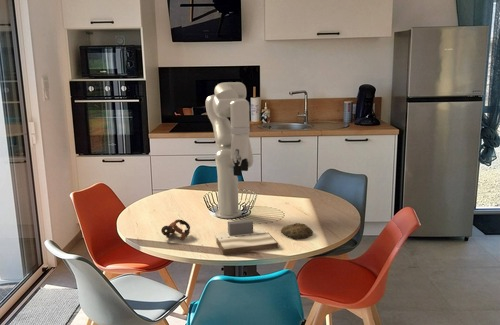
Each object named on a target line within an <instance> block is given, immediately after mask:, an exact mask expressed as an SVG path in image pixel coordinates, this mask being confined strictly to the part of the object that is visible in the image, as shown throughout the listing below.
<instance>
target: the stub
mask: <svg viewBox="0 0 500 325" xmlns="http://www.w3.org/2000/svg"><path fill="white" fill-rule="evenodd" d="M258 233H267V231H266V230H265V229H264V228H263V227H261V228H254V221H253V220H252V219H243V220H233V221H227V231H225V232H216V233H215V232H214V235H213V237H214V239H215V240H216V238H223V237H231V236H240V235H249V234H258Z"/></svg>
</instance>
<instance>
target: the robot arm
mask: <svg viewBox="0 0 500 325" xmlns="http://www.w3.org/2000/svg"><path fill="white" fill-rule="evenodd" d="M213 92H214V94H212V95H209V96H207V97H206V99H205V109H206V114H207V118H208V119H209V121H210V123H211V125H212V129H213V135H214V141H215V145H216V147H217V148H218V149H219V150H217V152H215V155H214V160H215V165H216V172H217V173H216V174H217V200H218V201H217V206H218V208H217V210H216V211H214V214H215V216H216V217H218V218H220V219H235V218H240V217H241V216H242V214H243V212H242V210H241V209H239V178H238V177H239V176H242V175H243V172H248V171H249V168H251V167H252V166H253V165H254V154H253V151H252V149H253V148H252V145H251V140H250V136H249V135H250V133H251V132H250V131H251V129H250V102H249V101H248V100H247V99H246V98H247V87H246V85H245V84H244V83H243V82H240V81H235V82H233V81H228V82H227V81H226V82H220V83H217V85H215V87H214V91H213ZM229 118H230V120H229Z"/></svg>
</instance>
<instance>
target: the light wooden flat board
mask: <svg viewBox="0 0 500 325" xmlns="http://www.w3.org/2000/svg"><path fill="white" fill-rule="evenodd" d="M266 232H267V231H266ZM215 241H216V242H215V243H216V245H217V247H218V249H219V250H220V252H221V253H222V255H223V256H224V255H234V254H239V253H240V254H241V253H248V252H256V251H265V250H273V249H279V242H278V241H277V240H276V239H275V237H274V236H272V235H271V233H269V232H267V233H258V234H249V235H240V236H231V237H223V238H216V239H215Z"/></svg>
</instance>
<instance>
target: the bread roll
mask: <svg viewBox="0 0 500 325" xmlns="http://www.w3.org/2000/svg"><path fill="white" fill-rule="evenodd" d="M280 233H281V234H282V235H283V236H285V237H287V238H288V239H289V238H290V239H292V240H303V239H304V240H305V239H307V238H310V237H311V236H313V233H314V231H313V230H312V229H311V227H309V226H308V225H306V224H304V223H300V222H296V223H292V224H288V225H286V226H283V227H282V228H281V230H280Z"/></svg>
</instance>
